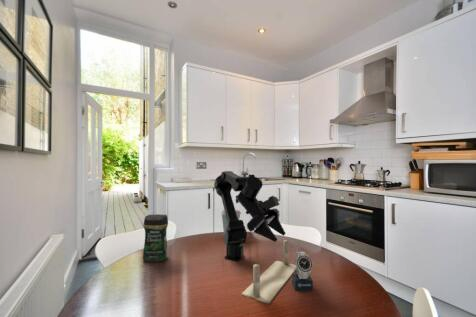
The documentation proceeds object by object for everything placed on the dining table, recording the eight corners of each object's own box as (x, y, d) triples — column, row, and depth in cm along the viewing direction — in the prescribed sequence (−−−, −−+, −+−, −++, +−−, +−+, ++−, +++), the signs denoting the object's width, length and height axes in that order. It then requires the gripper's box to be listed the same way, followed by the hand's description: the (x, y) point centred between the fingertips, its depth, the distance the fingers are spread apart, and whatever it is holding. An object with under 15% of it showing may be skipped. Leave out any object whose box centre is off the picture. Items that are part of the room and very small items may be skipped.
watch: (296, 293, 72) (296, 257, 72) (290, 280, 80) (290, 248, 80) (315, 293, 72) (314, 257, 72) (306, 280, 80) (306, 248, 80)
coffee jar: (140, 263, 94) (140, 216, 94) (147, 255, 101) (147, 212, 102) (164, 262, 94) (165, 216, 94) (169, 255, 102) (169, 212, 102)
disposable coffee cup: (222, 233, 133) (222, 207, 133) (240, 234, 133) (240, 207, 133) (220, 239, 122) (220, 211, 123) (240, 240, 122) (240, 211, 122)
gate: (241, 295, 71) (241, 263, 71) (276, 262, 95) (276, 238, 95) (269, 305, 67) (269, 270, 67) (298, 267, 91) (297, 242, 91)
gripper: (254, 190, 77) (288, 227, 71) (273, 187, 93) (302, 217, 87) (234, 213, 80) (265, 250, 74) (256, 206, 96) (283, 237, 90)
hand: (280, 237), depth 81 cm, fingers open, 9 cm apart
